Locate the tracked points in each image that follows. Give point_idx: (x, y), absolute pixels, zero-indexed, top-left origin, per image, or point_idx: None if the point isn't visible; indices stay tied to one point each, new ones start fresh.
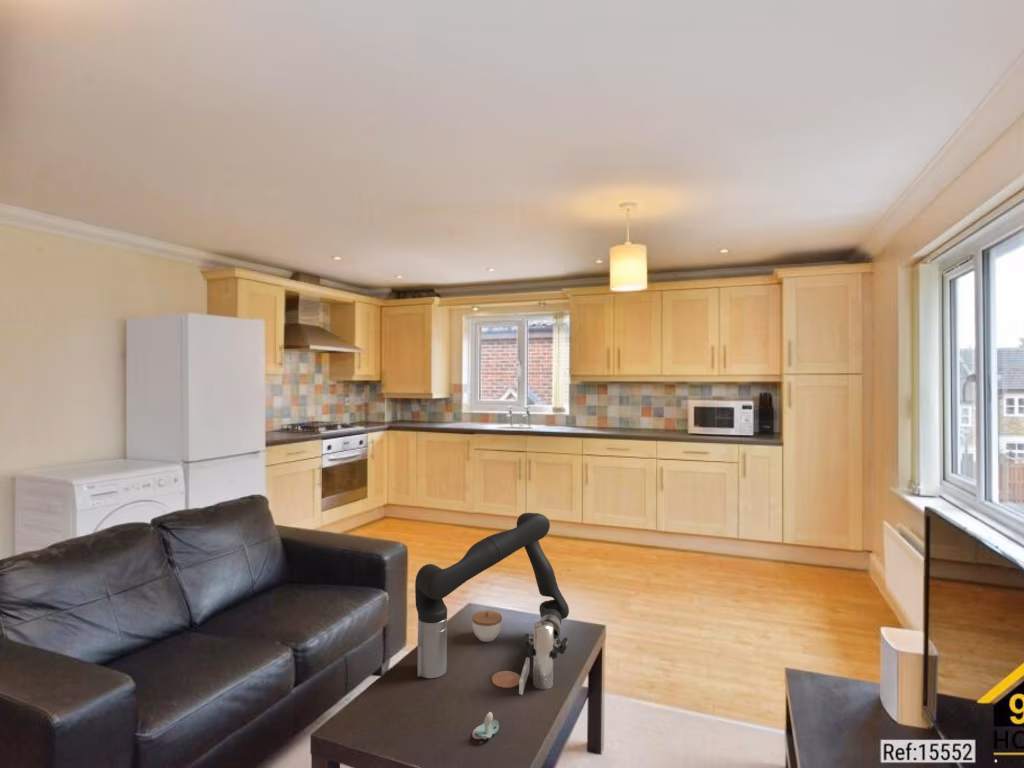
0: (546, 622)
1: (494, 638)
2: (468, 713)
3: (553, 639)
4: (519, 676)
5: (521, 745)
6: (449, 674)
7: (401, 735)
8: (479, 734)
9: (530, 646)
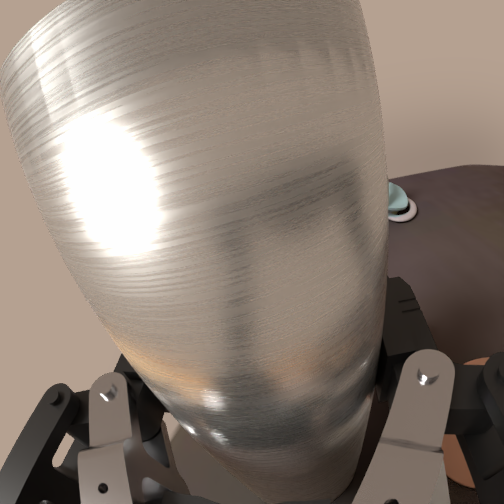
0: (69, 33)
1: None
2: (467, 236)
3: (97, 488)
4: (445, 468)
5: None
6: None
7: (500, 182)
8: (390, 188)
9: (425, 339)
